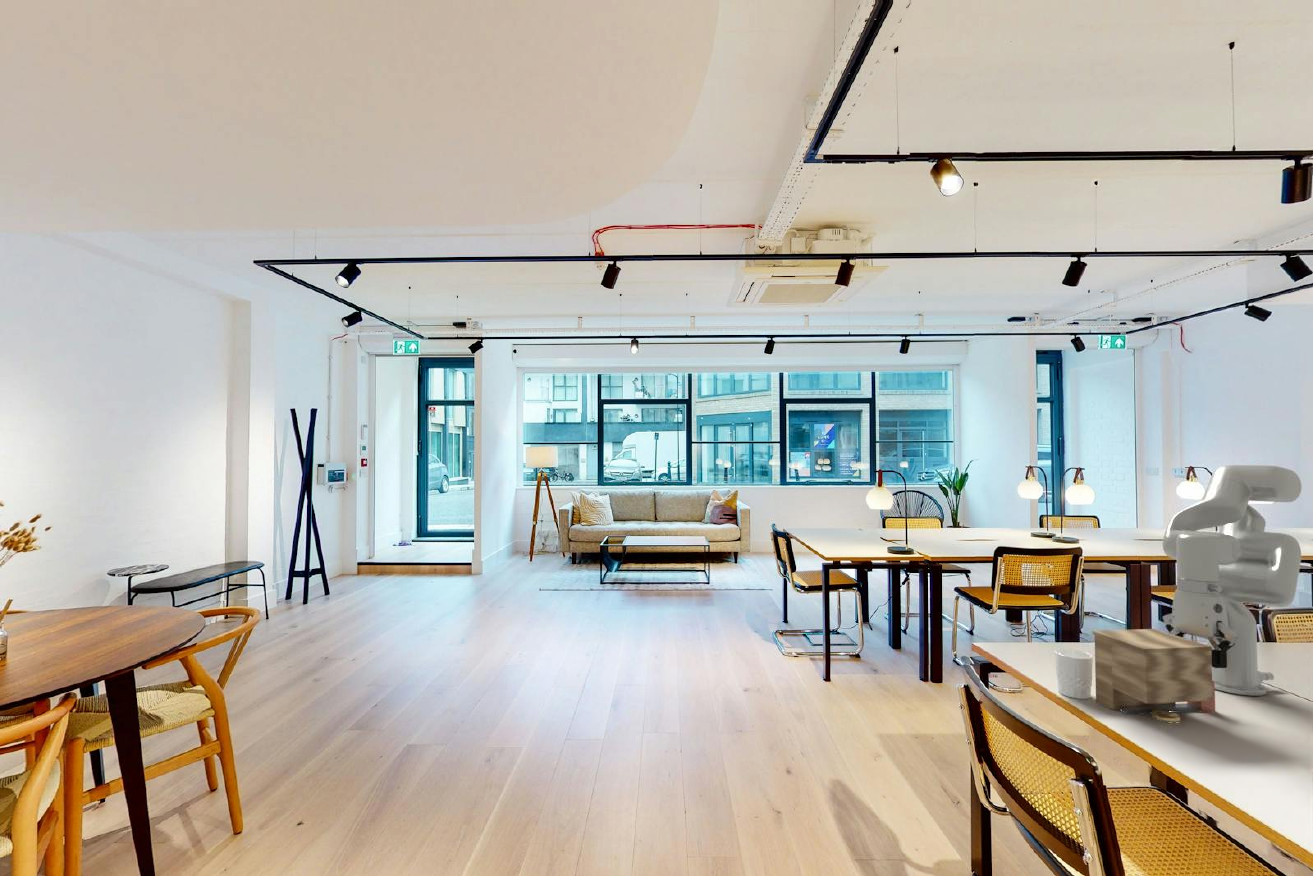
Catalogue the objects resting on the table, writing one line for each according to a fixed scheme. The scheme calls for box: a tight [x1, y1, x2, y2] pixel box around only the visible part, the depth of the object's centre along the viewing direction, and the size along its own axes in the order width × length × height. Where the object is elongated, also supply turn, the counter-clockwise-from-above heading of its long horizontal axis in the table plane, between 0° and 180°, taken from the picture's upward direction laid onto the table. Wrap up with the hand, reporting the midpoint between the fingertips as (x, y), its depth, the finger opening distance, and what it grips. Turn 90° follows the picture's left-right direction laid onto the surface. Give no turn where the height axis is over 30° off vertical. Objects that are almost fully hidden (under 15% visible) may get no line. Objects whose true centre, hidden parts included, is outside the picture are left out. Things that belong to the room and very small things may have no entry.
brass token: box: [1151, 710, 1181, 724], centre depth 141 cm, size 5×5×1 cm
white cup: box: [1054, 648, 1094, 700], centre depth 156 cm, size 8×8×10 cm
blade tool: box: [1120, 680, 1216, 715], centre depth 146 cm, size 21×4×7 cm, turn 96°
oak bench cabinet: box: [1092, 628, 1213, 711], centre depth 145 cm, size 16×14×17 cm
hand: (1198, 661), depth 146 cm, fingers open, 9 cm apart
